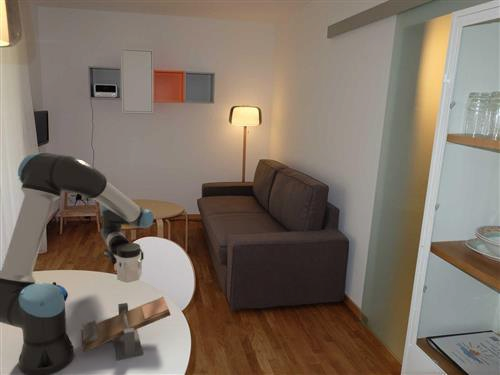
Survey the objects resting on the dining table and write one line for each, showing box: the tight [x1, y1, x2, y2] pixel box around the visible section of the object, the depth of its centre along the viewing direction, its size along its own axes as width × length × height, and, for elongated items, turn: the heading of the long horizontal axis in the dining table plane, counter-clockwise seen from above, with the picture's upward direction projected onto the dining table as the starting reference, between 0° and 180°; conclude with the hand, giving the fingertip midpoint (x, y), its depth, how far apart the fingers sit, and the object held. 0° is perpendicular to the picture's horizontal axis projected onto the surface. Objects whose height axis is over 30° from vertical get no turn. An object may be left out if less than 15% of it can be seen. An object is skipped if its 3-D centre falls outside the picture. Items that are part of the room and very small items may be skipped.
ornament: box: [52, 281, 69, 302], centre depth 153 cm, size 9×9×10 cm
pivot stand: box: [112, 302, 144, 361], centre depth 135 cm, size 8×18×9 cm, turn 23°
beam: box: [80, 296, 171, 352], centre depth 134 cm, size 28×13×4 cm, turn 112°
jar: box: [115, 242, 143, 284], centre depth 148 cm, size 9×8×12 cm
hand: (133, 266), depth 143 cm, fingers closed on jar, 4 cm apart
